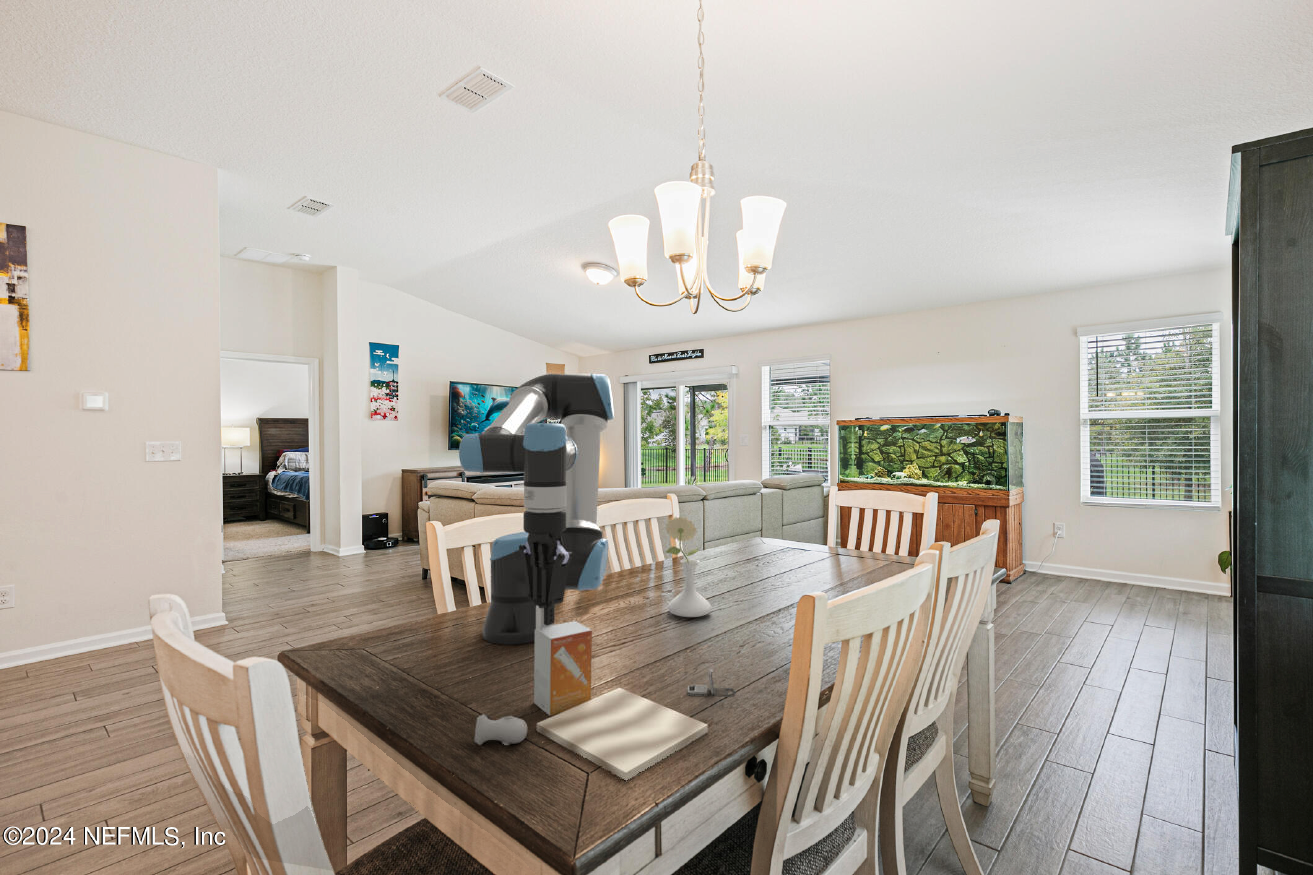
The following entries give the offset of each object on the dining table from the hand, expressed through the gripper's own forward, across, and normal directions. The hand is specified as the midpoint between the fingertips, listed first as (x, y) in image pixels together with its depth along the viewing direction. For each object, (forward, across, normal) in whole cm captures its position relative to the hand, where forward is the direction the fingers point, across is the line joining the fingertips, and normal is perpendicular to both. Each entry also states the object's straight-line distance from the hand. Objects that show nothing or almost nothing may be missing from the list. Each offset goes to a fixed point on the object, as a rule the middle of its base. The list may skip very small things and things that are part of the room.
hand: (544, 641), depth 107 cm
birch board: (+10, +20, 0) cm, 22 cm away
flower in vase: (+10, -12, +54) cm, 56 cm away
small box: (+10, +5, 0) cm, 11 cm away
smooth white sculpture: (+10, +8, -14) cm, 19 cm away
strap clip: (+10, +21, +21) cm, 32 cm away
